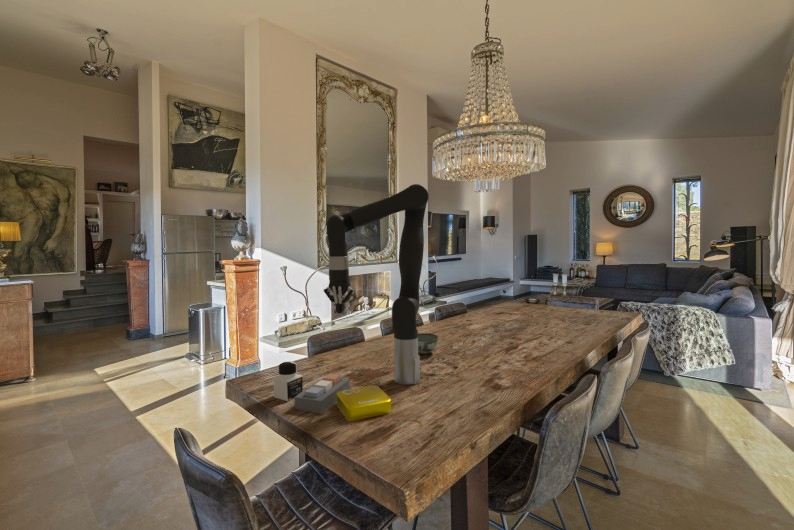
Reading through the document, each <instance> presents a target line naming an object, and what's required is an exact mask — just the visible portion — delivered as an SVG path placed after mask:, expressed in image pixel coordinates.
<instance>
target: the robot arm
mask: <svg viewBox="0 0 794 530" xmlns="http://www.w3.org/2000/svg"><path fill="white" fill-rule="evenodd" d="M429 198H430V196H429V191H428V189H427V188H426V187H425V186H424V185H422V184H418V183H414V184H411V185H409V186H408V187H406V188H404V189H403V190H401V191H399V192H397V193H395V194H393V195H390V196H387V197H386V198H384V199H381V200H377V201H374V202H371V203H368V204H365V205H363V206H360V207H357V208H354V209H352V210H351V211H350V212H347V213H345V214H341V215H338V214H337V215H335V214H334V215H331V216H330V217H329V218H328V219H327V222H326V233H327V234H326V235H327V240H328V280H329V283H328V285H327V286H328V287H326V288H324V289H323V292H324V293H325V295H326V296H327V298H328V299H329V300H330V302H331V303H334V304H335V312H336V314H343V313H344V311H345V303H348V302H349V301H350V299H351V298H352V296H353V295H354V293H355V292H356V289H355V288H352V287H351V284H350V283H349V282H350V281H349V280H350V273H349V272H350V268H349V267H350V266H349V263H350V262H349V258H348V256H349V255H348V254H349V253H348V251H349V250H348V243H347V242H346V241H347V240H346V233H348V232H350V231H353V230H355V229H357V228H360V227H364V226H367V225H370V224H372V223H375V222H377V221H379V220H383V219H384V218H386V217H388V216H390V215H393V214H395V213H401V212H403V211H404V223H403V228H402V232H401V236H400V242H399V243H400V244H399V251H398V252H399V253H398V267H399V268H398V269H399V273H400V274H399V275H400V288H399V294H398V295H399V296H398V298H396V299H395V300H394V302H393V303H392V306H391V325H392V332H393V346H394V349H393V350H394V351H393V357H394V361H393V362H394V364H393V365H394V382H395V383H397V384H399V385H406V386H407V385H417V383H418V382H420V381H419V380H421V378H420V377H421V375H420V374H421V373H420V372H421V369H420V368H421V367H420V366H421V365H420V360H421V358H420V357H421V356H420V354H419V353H418V334H419V331H418V329H417V317H416V316H417V314H418V313H419V310H420V281H421V275H422V266H423V261H424V260H423V259H424V249H425V236H424V234H425V233H424V220H425V219H424V218H425V214H426V213H425V212H426V210H427V209H426V208H427V204H428V202H429Z"/></svg>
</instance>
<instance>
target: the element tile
mask: <svg viewBox="0 0 794 530" xmlns="http://www.w3.org/2000/svg"><path fill="white" fill-rule="evenodd" d="M336 400H337V401H336V406H337V408H338V409H339V411H340V412H341V413H342V414H343V416H344V418H345V419H346V420H348V421H351V422H353V421H358V420H363V419H367V418H372V417H378V416H382V415H387V414H390V413H391V412H392V398H391V397H390V396H389V395H387V393H386V392H384V390H382V389H381V388H380V387H379V386H378V385H376V384H375V385H368V386H363V387H362V386H361V387H357V388H350V390H344V391H339V392H337V394H336Z"/></svg>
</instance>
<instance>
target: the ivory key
mask: <svg viewBox="0 0 794 530" xmlns="http://www.w3.org/2000/svg"><path fill="white" fill-rule="evenodd" d="M320 380H321V379H320ZM318 381H319V380H318ZM318 381H317V382H318ZM315 383H316V382H315ZM315 383H314V384H315ZM315 387H317V388H324V391H328V390H330V389H331V388H332V381H325V380H321V381H319V382H318V383H316V384H315Z"/></svg>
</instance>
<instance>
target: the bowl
mask: <svg viewBox="0 0 794 530" xmlns="http://www.w3.org/2000/svg"><path fill="white" fill-rule="evenodd" d="M438 339H439V336H438V335H436V334H434V333H428V332H427V333H426V332H422V333H418V355H430V354H431V353H432V351H434V350H435V349H436V348H437V345H438V341H439V340H438Z"/></svg>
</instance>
